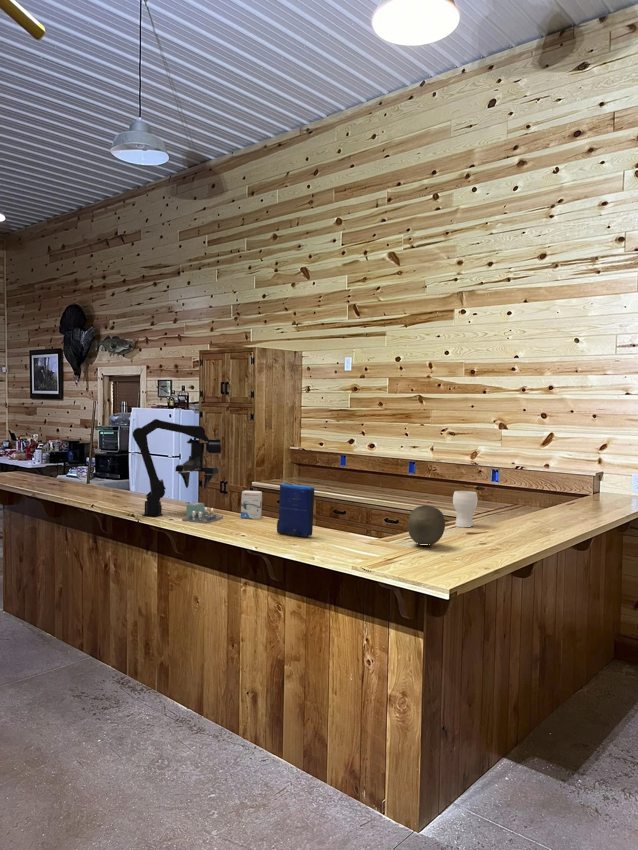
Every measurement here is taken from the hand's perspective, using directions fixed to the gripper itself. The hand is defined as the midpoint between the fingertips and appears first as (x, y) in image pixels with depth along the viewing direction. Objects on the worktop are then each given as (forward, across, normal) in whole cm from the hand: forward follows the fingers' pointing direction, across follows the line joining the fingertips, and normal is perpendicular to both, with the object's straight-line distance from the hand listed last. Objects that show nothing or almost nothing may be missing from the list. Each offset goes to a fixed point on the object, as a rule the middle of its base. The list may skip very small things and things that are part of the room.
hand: (196, 488), depth 287 cm
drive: (+12, 0, 0) cm, 12 cm away
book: (+12, +56, -22) cm, 62 cm away
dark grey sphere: (+12, +106, -18) cm, 108 cm away
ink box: (+12, +25, +6) cm, 28 cm away
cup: (+12, +115, +33) cm, 120 cm away
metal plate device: (+12, +9, -9) cm, 17 cm away
